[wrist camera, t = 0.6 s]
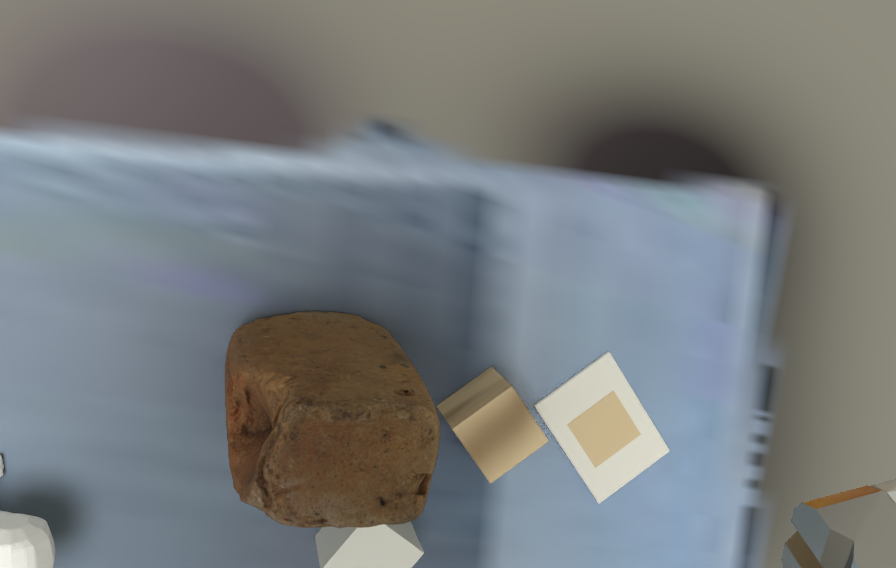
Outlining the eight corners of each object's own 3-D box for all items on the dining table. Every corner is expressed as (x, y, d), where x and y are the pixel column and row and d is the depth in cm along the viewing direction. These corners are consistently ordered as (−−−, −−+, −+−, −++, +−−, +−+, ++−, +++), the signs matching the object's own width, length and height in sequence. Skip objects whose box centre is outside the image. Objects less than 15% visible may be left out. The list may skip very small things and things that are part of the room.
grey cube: (410, 520, 62) (424, 552, 58) (366, 572, 62) (376, 608, 57) (359, 483, 61) (369, 513, 56) (314, 535, 61) (320, 570, 56)
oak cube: (525, 417, 63) (548, 441, 58) (471, 456, 63) (490, 483, 58) (491, 366, 62) (512, 385, 57) (435, 405, 61) (452, 429, 56)
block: (389, 313, 59) (459, 401, 40) (376, 414, 60) (439, 548, 41) (230, 300, 56) (224, 388, 37) (221, 407, 57) (209, 546, 38)
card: (668, 449, 66) (670, 451, 66) (597, 502, 66) (599, 504, 65) (607, 351, 64) (609, 352, 63) (533, 405, 63) (535, 406, 63)
